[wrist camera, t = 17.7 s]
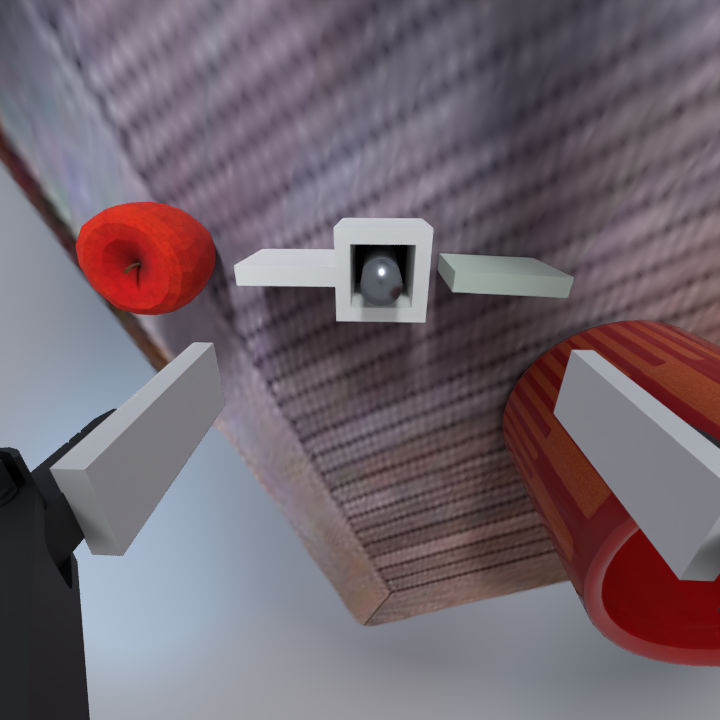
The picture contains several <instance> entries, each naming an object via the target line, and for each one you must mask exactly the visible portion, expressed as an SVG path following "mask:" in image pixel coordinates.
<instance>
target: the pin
mask: <svg viewBox="0 0 720 720" xmlns="http://www.w3.org/2000/svg"><path fill="white" fill-rule="evenodd" d="M402 287H403V284H402V278H401V275H400V271H399V267H398V263H397V259H396V255H395V252H394V249H393V248H392V247H391V246H390V245H379V244H372V245H371V246H370V247H369V248H368V249H367V251H366V254H365V259H364V265H363V271H362V277H361V284H360V288H361V292H362V295H363V297H364V298H365V299H366V300H367V301H368V302H369V303H371V304H373V305H376V306H387V305H389V304H392V303H393V302H395V301H396V300H397V299H398V297H399V296H400V294H401V292H402Z"/></svg>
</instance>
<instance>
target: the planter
mask: <svg viewBox="0 0 720 720" xmlns="http://www.w3.org/2000/svg"><path fill="white" fill-rule="evenodd" d="M572 350H594V351H595V352H596V353H598V354H599V355H600V356H602V357H603V358H604V359H605V360H607V361H608V362H609V363H610V364H612V365H613V366H614V367H616V368H617V369H618V370H619V371H621V372H622V373H623V374H625V375H626V376H627V377H628V378H630V379H631V380H632V381H633V382H635V383H636V384H637V385H639V386H640V387H641V388H642V389H644V390H645V391H646V392H648V393H649V394H650V395H651V396H653V397H654V398H655V399H656V400H658V401H659V402H660V403H662V404H663V405H664V406H665V407H667V408H668V409H669V410H670V411H672V412H673V413H674V414H676V415H677V416H678V417H679V418H681V419H682V420H683V421H685V422H686V423H689V424H691V425H693V426H695V427H697V428H699V429H700V430H702V431H704V432H706V433H708V434H710V435H712V436H713V437H714V438H716V439H717V440H718V441H720V346H717V345H715V344H713V343H711V342H709V341H707V340H705V339H703V338H701V337H699V336H697V335H694V334H692V333H690V332H688V331H686V330H684V329H682V328H680V327H677V326H673V325H669V324H666V323H662V322H655V321H646V320H634V321H620V322H615V323H609V324H603V325H600V326H597V327H594V328H591V329H587V330H584V331H582V332H580V333H578V334H576V335H573V336H571V337H569V338H567V339H565V340H564V341H562V342H560V343H559V344H557V345H555V346H554V347H552V348H551V349H549V350H548V351H547V352H545V353H544V354H543V355H542V356H540V357H539V358H538V359H537V360H536V361H535V362H534V363H533V364H532V365H531V366H530V367H529V368H528V369H527V370H526V371H525V372H524V373H523V375H522V376H521V378H520V379H519V380H518V382H517V383H516V384H515V386H514V388H513V390H512V392H511V394H510V396H509V398H508V401H507V404H506V407H505V410H504V415H503V422H502V430H503V439H504V443H505V446H506V450H507V452H508V454H509V456H510V458H511V460H512V462H513V464H514V466H515V468H516V470H517V473H518V475H519V477H520V479H521V481H522V483H523V485H524V487H525V489H526V491H527V493H528V495H529V497H530V499H531V501H532V503H533V505H534V508H535V510H536V512H537V514H538V516H539V518H540V520H541V522H542V524H543V526H544V528H545V530H546V532H547V534H548V536H549V538H550V540H551V542H552V544H553V546H554V548H555V550H556V552H557V554H558V556H559V558H560V560H561V562H562V564H563V566H564V568H565V570H566V572H567V574H568V576H569V578H570V580H571V582H572V584H573V586H574V588H575V590H576V592H577V594H578V596H579V599H580V600H581V603H582V605H583V606H584V609H585V610H586V612H587V614H588V616H589V618H590V620H591V622H592V624H593V625H594V626H595V627H596V628H597V629H598V630H599V631H600V632H601V633H602V635H603V636H604V637H606V638H607V639H608V640H610V641H611V642H613V643H614V644H616V645H617V646H619V647H620V648H623V649H625V650H627V651H629V652H631V653H633V654H636V655H639V656H642V657H645V658H648V659H651V660H655V661H660V662H666V663H670V664H677V665H687V666H711V667H720V612H719V611H718V609H719V607H720V573H719V575H718V576H717V578H716V579H715V581H697V580H679V578H678V577H677V576H676V575H675V573H674V572H673V571H672V569H671V568H670V567H669V565H668V564H667V563H666V561H665V560H664V559H663V557H662V556H661V555H660V553H659V552H658V551H657V549H656V548H655V547H654V545H653V544H652V543H651V542H650V540H649V539H648V538H647V536H646V535H645V534H644V532H643V531H642V530H641V528H640V527H639V526H638V524H637V523H636V522H635V520H634V519H633V518H632V516H631V515H630V514H629V512H628V511H627V510H626V509H625V507H624V506H623V505H622V503H621V502H620V501H619V499H618V498H617V497H616V495H615V494H614V493H613V491H612V490H611V489H610V487H609V486H608V485H607V483H606V482H605V481H604V479H603V478H602V477H601V476H600V474H599V473H598V472H597V470H596V469H595V468H594V466H593V465H592V464H591V462H590V461H589V460H588V458H587V457H586V456H585V454H584V453H583V452H582V450H581V449H580V448H579V446H578V445H577V444H576V442H575V441H574V440H573V439H572V437H571V436H570V435H569V433H568V432H567V431H566V429H565V428H564V427H563V425H562V424H561V423H560V421H559V420H558V419H557V417H556V416H555V415H554V410H555V406H556V403H557V399H558V396H559V392H560V389H561V385H562V382H563V378H564V375H565V372H566V368H567V365H568V361H569V358H570V354H571V351H572Z"/></svg>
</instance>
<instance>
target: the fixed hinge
mask: <svg viewBox="0 0 720 720" xmlns="http://www.w3.org/2000/svg"><path fill="white" fill-rule="evenodd" d="M432 240H433V227H432V226H430V225H429V224H428V223H427V222H425V221H424V220H423V219H422V218H342V219H341V220H340V221H339V222H338V223H337V225H336V226H335V227H334V250H329V249H262V250H260V251H258V252H256V253H255V254H253V255H251V256H250V257H248V258H246V259H244V260H243V261H241V262H239V263H238V264H236V265H234V269H235V276H236V283H237V286H306V287H335V290H336V321H361V322H421V323H425V320H426V309H427V297H428V286H429V274H430V263H431V251H432ZM356 244H379V245H407V257H406V274H405V284H403V287H402V292H401V294H400V296H399V297H398V299H397V300H396V301H395V302H393V303H392V304H389V305H387V306H376V305H373V304H371V303H369V302H368V301H367V300H366V299H365V298H364V297H363V295H362V292H361V288H360V284H361V283H356Z"/></svg>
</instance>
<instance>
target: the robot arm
mask: <svg viewBox="0 0 720 720" xmlns="http://www.w3.org/2000/svg"><path fill="white" fill-rule="evenodd" d="M225 405H226V404H225V399H224V394H223V389H222V384H221V378H220V373H219V368H218V363H217V358H216V353H215V348H214V343H202V342H193V343H192V344H191V345H190V346H189V347H188V348H186V349H185V350H184V351H183V352H182V353H181V354H180V355H178V356H177V357H176V358H175V359H174V360H173V361H172V362H170V363H169V364H168V365H167V366H166V367H165V368H164V369H162V370H161V371H160V372H159V373H158V374H157V375H156V376H154V377H153V378H152V379H151V380H150V381H149V382H148V383H146V385H144V386H143V387H142V388H141V389H140V390H139V391H137V392H136V393H135V394H134V395H133V396H132V397H131V398H129V399H128V400H127V401H126V402H125V403H124V404H123V405H121V406H120V407H119V408H118V409H112V410H110V411H108V412H106V413H105V414H103V415H101V416H99V417H97V418H96V419H94V420H93V421H91V422H90V423H89V424H88V425H87V426H86V427H84V428H83V429H82V430H81V433H77V434H76V435H75V436H74V437H72V438H71V439H70V440H69V443H65V444H64V445H63V446H62V447H61V448H59V449H58V450H57V451H56V452H55V453H53V454H52V455H51V456H50V457H49V458H47V459H46V460H45V461H44V462H43V463H41V464H40V465H39V466H38V467H37V468H36V469H34V470H33V471H32V472H31V473H30V471H29V469H28V468H27V466H26V464H25V462H24V460H23V458H22V457H21V455H20V453H19V451H18V450H17V449H14V448H10V447H8V448H0V720H90V717H89V706H88V705H89V704H88V692H87V679H86V666H85V653H84V640H83V628H82V615H81V604H80V589H79V576H78V564H77V560H76V558H75V556H74V554H73V551H74V550H75V549H76V547H77V546H78V545H79V544H80V543H81V541H82V540H83V539H85V540H86V543H87V545H88V547H89V549H90V550H91V553H92V554H93V555H115V556H116V555H117V556H123V555H124V553H125V552H126V550H127V549H128V547H129V546H130V545H131V543H132V542H133V540H134V539H135V537H136V536H137V534H138V533H139V531H140V530H141V528H142V527H143V525H144V524H145V522H146V521H147V519H148V518H149V517H150V515H151V514H152V512H153V511H154V509H155V508H156V506H157V505H158V503H159V502H160V500H161V499H162V498H163V496H164V495H165V493H166V492H167V490H168V489H169V487H170V486H171V484H172V483H173V481H174V480H175V478H176V477H177V475H178V474H179V473H180V471H181V469H182V468H183V467H184V465H185V464H186V462H187V461H188V459H189V458H190V456H191V455H192V453H193V452H194V450H195V449H196V448H197V446H198V445H199V443H200V442H201V440H202V438H203V437H204V436H205V434H206V433H207V431H208V430H209V428H210V427H211V425H212V424H213V422H214V421H215V420H216V418H217V417H218V415H219V414H220V412H221V411H222V409H223V408H224V406H225ZM554 415H555V416H556V417H557V419H558V420H559V421H560V423H561V424H562V425H563V427H564V428H565V429H566V431H567V432H568V433H569V435H570V436H571V437H572V439H573V440H574V441H575V442H576V444H577V445H578V446H579V448H580V449H581V450H582V452H583V453H584V454H585V456H586V457H587V458H588V460H589V461H590V462H591V464H592V465H593V466H594V468H595V469H596V470H597V472H598V473H599V474H600V476H601V477H602V478H603V479H604V481H605V482H606V483H607V485H608V486H609V487H610V489H611V490H612V491H613V493H614V494H615V495H616V497H617V498H618V499H619V501H620V502H621V503H622V505H623V506H624V507H625V509H626V510H627V511H628V512H629V514H630V515H631V516H632V518H633V519H634V520H635V522H636V523H637V524H638V526H639V527H640V528H641V530H642V531H643V532H644V534H645V535H646V536H647V538H648V539H649V540H650V542H651V543H652V544H653V545H654V547H655V548H656V549H657V551H658V552H659V553H660V555H661V556H662V557H663V559H664V560H665V561H666V563H667V564H668V565H669V567H670V568H671V569H672V571H673V572H674V573H675V575H676V576H677V577H678V578H679V580H697V581H715V579H716V578H717V576H718V575H719V573H720V441H718V440H717V439H716V438H714V437H713V436H712V435H710V434H708V433H706V432H704V431H702V430H700V429H699V428H697V427H695V426H693V425H691V424H689V423H686V422H685V421H683V420H682V419H681V418H679V417H678V416H677V415H676V414H674V413H673V412H672V411H670V410H669V409H668V408H667V407H665V406H664V405H663V404H662V403H660V402H659V401H658V400H656V399H655V398H654V397H653V396H651V395H650V394H649V393H648V392H646V391H645V390H644V389H642V388H641V387H640V386H639V385H637V384H636V383H635V382H633V381H632V380H631V379H630V378H628V377H627V376H626V375H625V374H623V373H622V372H621V371H619V370H618V369H617V368H616V367H614V366H613V365H612V364H610V363H609V362H608V361H607V360H605V359H604V358H603V357H602V356H600V355H599V354H598V353H596V352H595V351H594V350H572V351H571V354H570V358H569V361H568V365H567V368H566V372H565V375H564V378H563V382H562V385H561V389H560V392H559V396H558V399H557V403H556V406H555V410H554ZM718 611H719V612H720V607H719V609H718Z"/></svg>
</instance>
